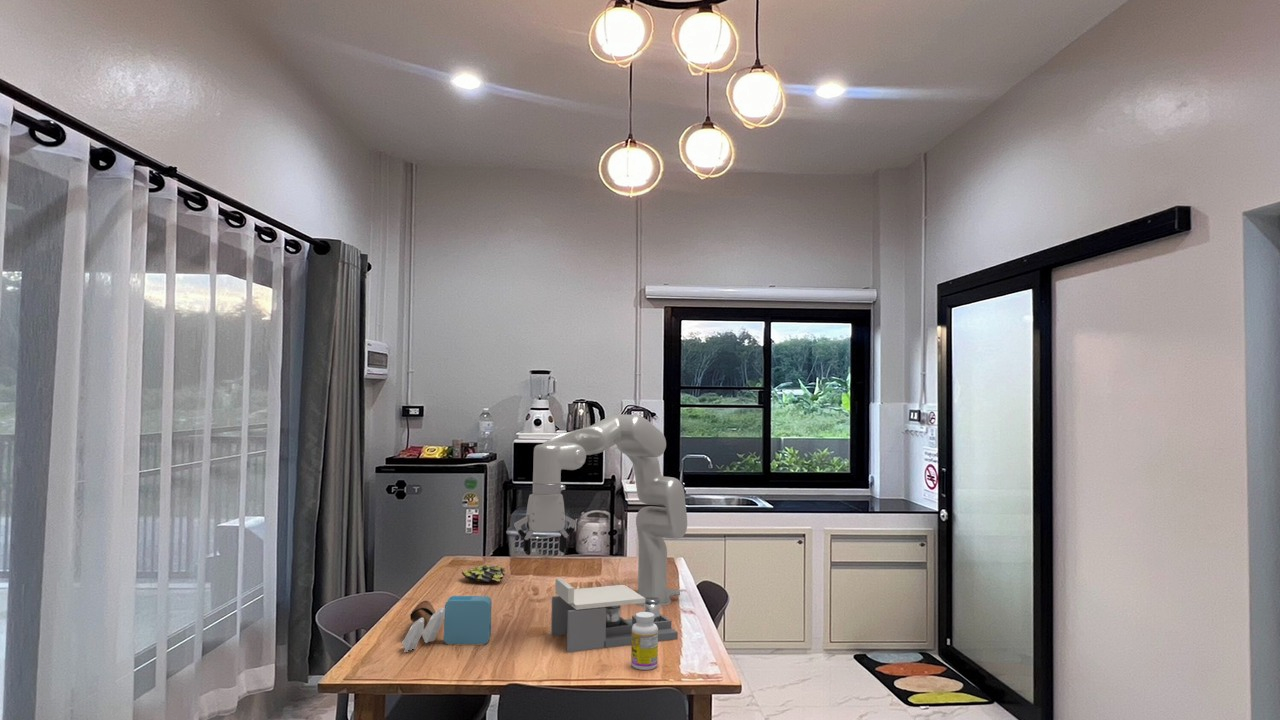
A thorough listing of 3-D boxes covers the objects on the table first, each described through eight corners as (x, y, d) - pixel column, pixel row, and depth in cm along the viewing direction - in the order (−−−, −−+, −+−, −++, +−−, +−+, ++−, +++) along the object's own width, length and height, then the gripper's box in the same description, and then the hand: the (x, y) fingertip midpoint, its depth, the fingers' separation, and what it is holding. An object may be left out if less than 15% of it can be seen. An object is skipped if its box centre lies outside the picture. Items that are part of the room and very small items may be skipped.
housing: (654, 623, 223) (654, 586, 223) (677, 639, 208) (678, 600, 209) (551, 634, 210) (551, 596, 211) (568, 652, 196) (568, 611, 196)
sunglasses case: (435, 633, 203) (436, 608, 204) (408, 634, 202) (410, 608, 203) (440, 622, 221) (441, 599, 222) (415, 623, 219) (417, 599, 221)
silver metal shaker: (641, 624, 215) (642, 597, 215) (655, 622, 217) (656, 596, 217) (647, 628, 211) (648, 601, 211) (661, 627, 213) (662, 600, 213)
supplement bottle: (630, 661, 190) (630, 610, 191) (656, 661, 190) (656, 610, 191) (632, 671, 183) (632, 618, 184) (658, 670, 184) (659, 618, 184)
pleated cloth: (476, 573, 287) (481, 556, 289) (514, 585, 284) (519, 568, 285) (455, 575, 268) (460, 557, 269) (496, 589, 265) (502, 570, 266)
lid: (623, 588, 220) (624, 570, 220) (645, 602, 205) (645, 583, 205) (553, 595, 211) (553, 576, 211) (570, 610, 196) (570, 590, 197)
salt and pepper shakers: (429, 630, 206) (448, 600, 203) (438, 641, 204) (457, 611, 201) (396, 642, 195) (415, 611, 192) (405, 654, 193) (425, 622, 191)
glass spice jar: (616, 626, 212) (617, 600, 212) (622, 631, 208) (622, 604, 208) (602, 628, 210) (602, 601, 211) (607, 633, 206) (608, 605, 207)
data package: (490, 639, 206) (491, 595, 206) (488, 645, 201) (489, 600, 202) (446, 640, 205) (448, 595, 206) (443, 645, 200) (444, 600, 201)
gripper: (572, 487, 210) (571, 548, 209) (512, 489, 204) (510, 552, 203) (580, 490, 204) (579, 553, 203) (518, 492, 197) (517, 557, 196)
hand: (544, 552), depth 203 cm, fingers open, 9 cm apart
